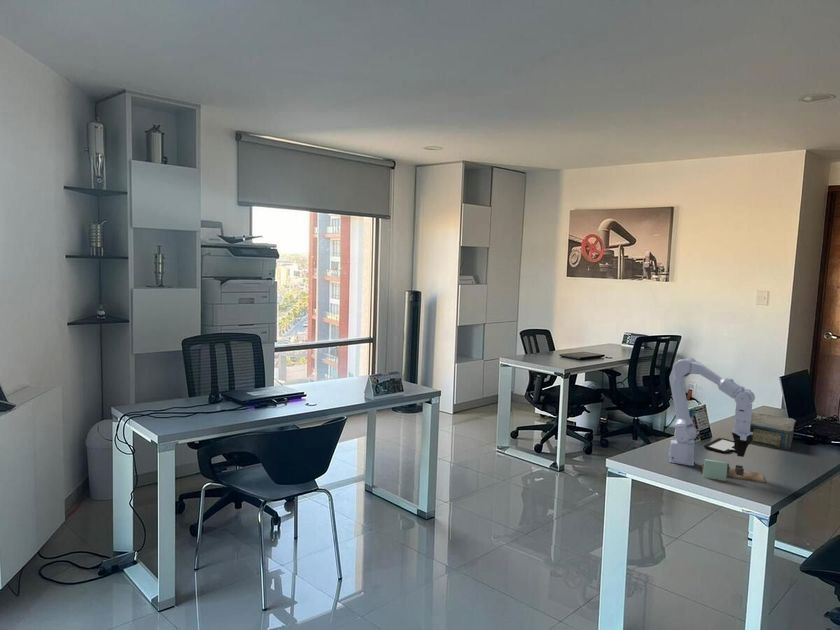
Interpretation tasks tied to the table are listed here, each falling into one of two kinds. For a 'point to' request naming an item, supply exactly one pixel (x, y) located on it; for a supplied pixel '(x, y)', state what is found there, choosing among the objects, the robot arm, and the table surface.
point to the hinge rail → (742, 474)
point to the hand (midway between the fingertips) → (739, 453)
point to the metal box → (771, 431)
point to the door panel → (715, 469)
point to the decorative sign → (721, 446)
